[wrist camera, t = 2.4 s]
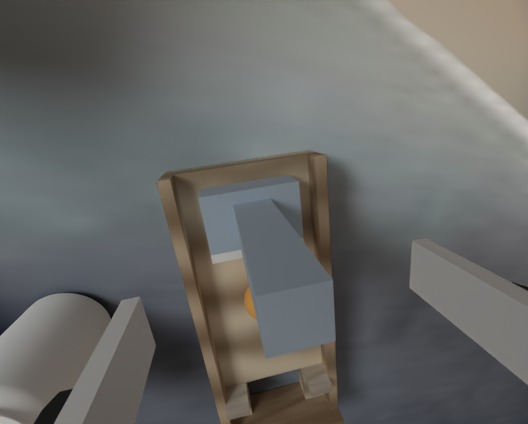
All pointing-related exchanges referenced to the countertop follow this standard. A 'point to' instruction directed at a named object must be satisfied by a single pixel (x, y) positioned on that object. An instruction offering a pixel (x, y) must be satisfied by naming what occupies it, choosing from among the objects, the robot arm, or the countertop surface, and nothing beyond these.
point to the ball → (249, 303)
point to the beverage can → (47, 353)
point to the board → (233, 292)
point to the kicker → (272, 260)
